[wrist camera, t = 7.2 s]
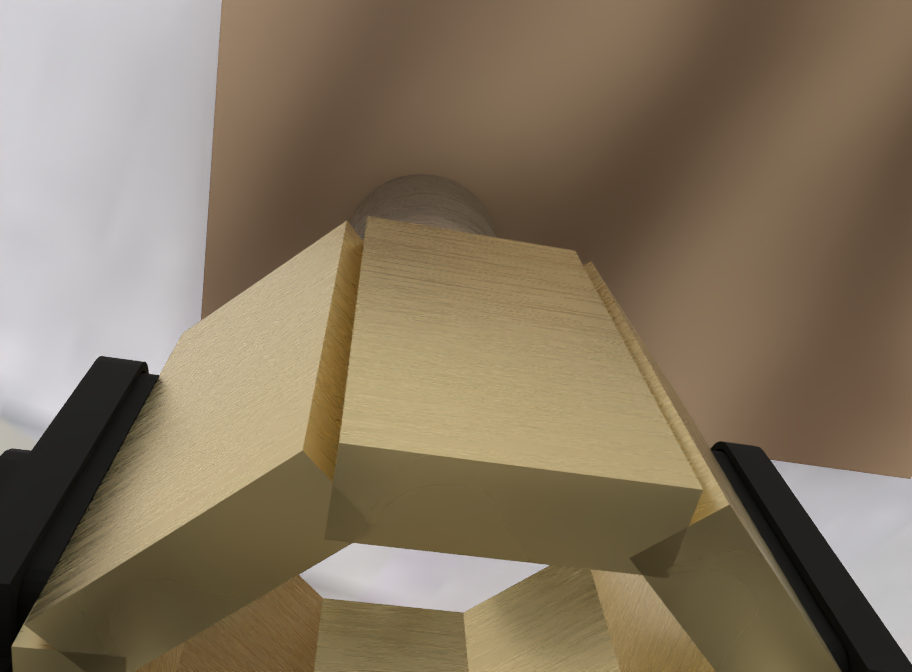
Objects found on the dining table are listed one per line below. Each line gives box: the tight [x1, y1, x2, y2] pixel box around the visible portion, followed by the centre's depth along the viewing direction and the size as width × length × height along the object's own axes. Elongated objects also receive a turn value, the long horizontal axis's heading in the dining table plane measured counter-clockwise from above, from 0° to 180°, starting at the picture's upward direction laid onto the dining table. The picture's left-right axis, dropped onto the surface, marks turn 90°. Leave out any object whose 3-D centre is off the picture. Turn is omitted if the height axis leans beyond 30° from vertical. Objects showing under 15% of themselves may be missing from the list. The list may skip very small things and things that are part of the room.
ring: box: [11, 216, 841, 672], centre depth 10 cm, size 7×7×5 cm
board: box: [201, 0, 912, 479], centre depth 20 cm, size 20×13×1 cm, turn 79°
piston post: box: [349, 174, 496, 242], centre depth 17 cm, size 4×4×7 cm
